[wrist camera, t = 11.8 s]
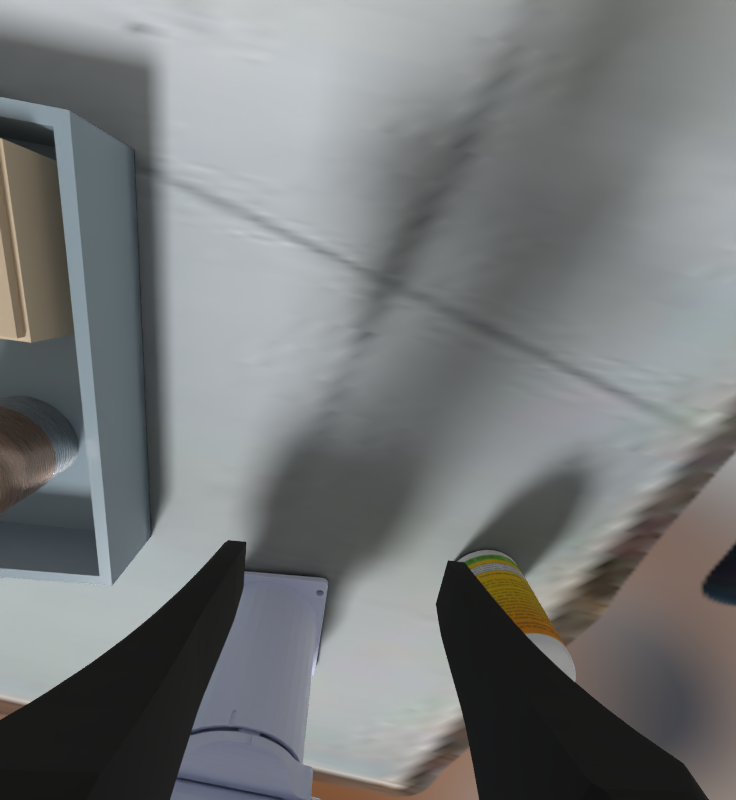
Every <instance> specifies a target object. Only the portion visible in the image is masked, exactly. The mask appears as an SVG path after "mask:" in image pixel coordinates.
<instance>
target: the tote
mask: <svg viewBox="0 0 736 800" xmlns="http://www.w3.org/2000/svg"><path fill="white" fill-rule="evenodd" d="M0 138H2V139H4V140H7V141H9V142H12V143H14V144H17V145H19V146H21V147H24V148H26V149H29V150H31V151H33V152H36V153H38V154H41V155H43V156H46V157H48V158H50V159H53V160H55V161H57V167H58V177H59V186H60V196H61V206H62V216H63V225H64V235H65V245H66V254H67V264H68V274H69V284H70V293H71V303H72V313H73V322H74V332H75V335H70V336H64V337H59V338H53V339H48V340H43V341H37V342H32V343H30V342H23V341H15V340H8V339H0V399H2V398H5V397H9V396H28V397H32V398H36V399H39V400H42V401H44V402H46V403H48V404H50V405H52V406H53V407H55V408H56V409H57V410H59V411H60V412H61V413H62V414H63V415H64V416H65V417H66V418H67V419H68V420H69V422H70V423H71V424H72V426H73V428H74V430H75V432H76V435H77V438H78V454H77V457H76V459H75V461H74V462H73V464H72V465H71V466H70V467H69V468H68V469H66V470H65V471H63V472H62V473H60V474H59V475H57V476H56V477H54V478H53V479H51V480H50V481H49V482H48V483H46V484H45V485H44V486H43V487H41V488H40V489H38V490H37V491H35V492H34V493H32V494H31V495H29V496H28V497H26V498H25V499H23V500H22V501H20V502H19V503H17V504H16V505H14V506H13V507H11V508H10V509H8V510H7V511H5V512H4V513H2V514H1V515H0V577H7V578H20V579H32V580H45V581H58V582H71V583H83V584H96V585H109V586H112V585H113V584H114V583H115V581H116V580H117V579H118V578H119V576H120V575H121V574H122V572H123V571H124V570H125V569H126V567H127V566H128V565H129V564H130V562H131V561H132V560H133V559H134V557H135V556H136V555H137V553H138V552H139V551H140V550H141V548H142V547H143V546H144V545H145V543H146V542H147V541H148V540H149V538H150V537H151V522H150V499H149V476H148V453H147V431H146V408H145V385H144V362H143V340H142V317H141V294H140V271H139V249H138V226H137V203H136V180H135V158H134V150H133V149H132V148H130V147H129V146H127V145H125V144H124V143H122V142H120V141H119V140H117V139H116V138H114V137H112V136H111V135H109V134H107V133H106V132H104V131H102V130H101V129H99V128H98V127H96V126H94V125H93V124H91V123H89V122H88V121H86V120H85V119H83V118H81V117H80V116H78V115H76V114H75V113H73V112H71V111H70V110H66V109H61V108H56V107H51V106H45V105H40V104H35V103H30V102H25V101H20V100H14V99H9V98H4V97H0Z"/></svg>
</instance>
